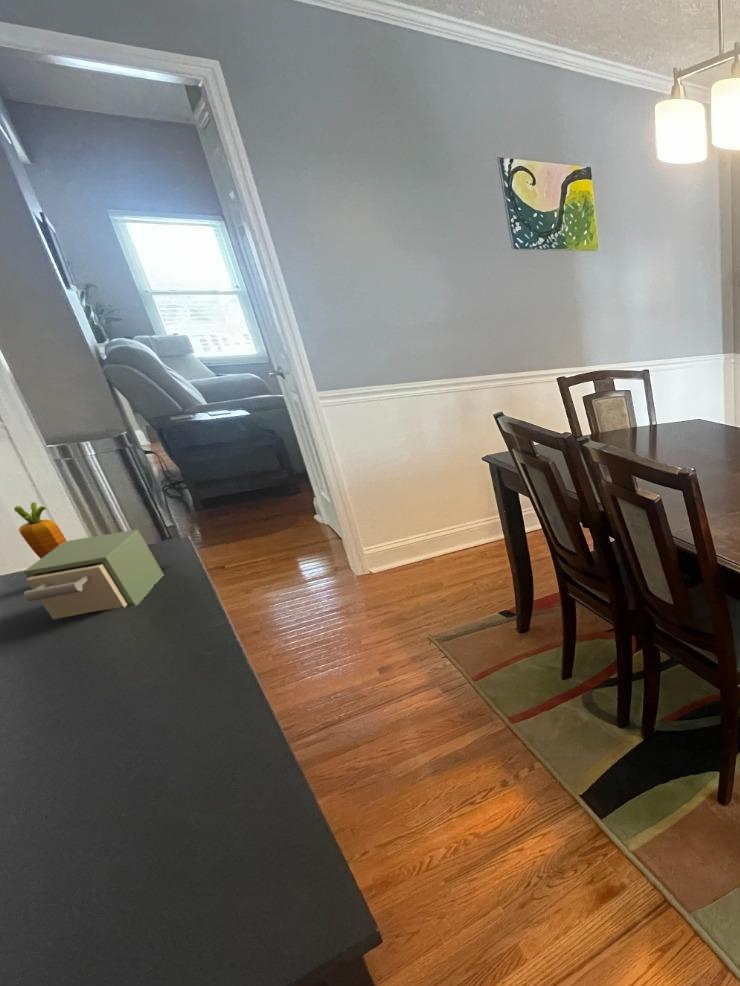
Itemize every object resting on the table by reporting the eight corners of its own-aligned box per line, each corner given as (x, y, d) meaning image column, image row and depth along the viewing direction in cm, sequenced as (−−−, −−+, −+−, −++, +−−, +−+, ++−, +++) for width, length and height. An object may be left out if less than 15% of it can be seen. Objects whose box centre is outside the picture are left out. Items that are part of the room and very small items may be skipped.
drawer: (111, 622, 96) (84, 579, 92) (38, 637, 93) (6, 594, 89) (152, 578, 109) (129, 540, 105) (89, 590, 106) (63, 551, 102)
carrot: (76, 570, 116) (29, 498, 109) (95, 571, 115) (49, 499, 108) (44, 582, 111) (-7, 508, 104) (64, 584, 110) (14, 509, 103)
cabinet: (136, 606, 102) (105, 557, 97) (58, 622, 98) (22, 571, 94) (164, 575, 112) (138, 529, 107) (95, 588, 108) (64, 541, 104)
